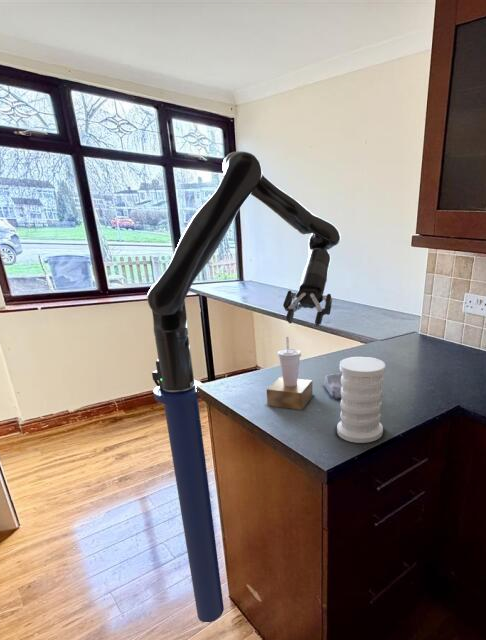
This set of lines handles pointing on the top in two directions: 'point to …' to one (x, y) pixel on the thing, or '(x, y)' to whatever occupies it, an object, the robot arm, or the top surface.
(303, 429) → the top surface
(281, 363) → the smoothie
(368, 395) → the decorative container
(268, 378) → the top surface
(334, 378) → the stone block
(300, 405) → the oak block
